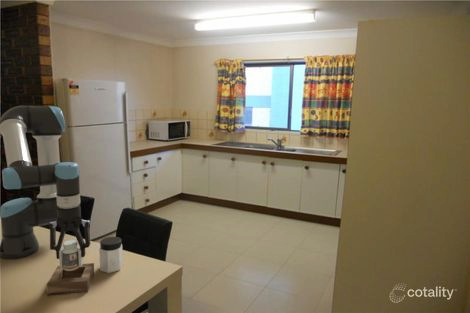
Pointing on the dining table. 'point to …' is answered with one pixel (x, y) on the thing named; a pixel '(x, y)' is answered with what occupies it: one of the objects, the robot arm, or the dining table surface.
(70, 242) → the pill bottle
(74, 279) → the socket block
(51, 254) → the dining table surface
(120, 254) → the jar
